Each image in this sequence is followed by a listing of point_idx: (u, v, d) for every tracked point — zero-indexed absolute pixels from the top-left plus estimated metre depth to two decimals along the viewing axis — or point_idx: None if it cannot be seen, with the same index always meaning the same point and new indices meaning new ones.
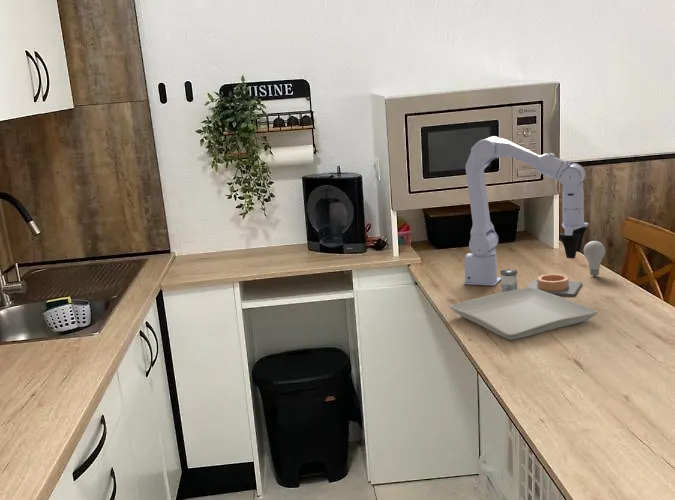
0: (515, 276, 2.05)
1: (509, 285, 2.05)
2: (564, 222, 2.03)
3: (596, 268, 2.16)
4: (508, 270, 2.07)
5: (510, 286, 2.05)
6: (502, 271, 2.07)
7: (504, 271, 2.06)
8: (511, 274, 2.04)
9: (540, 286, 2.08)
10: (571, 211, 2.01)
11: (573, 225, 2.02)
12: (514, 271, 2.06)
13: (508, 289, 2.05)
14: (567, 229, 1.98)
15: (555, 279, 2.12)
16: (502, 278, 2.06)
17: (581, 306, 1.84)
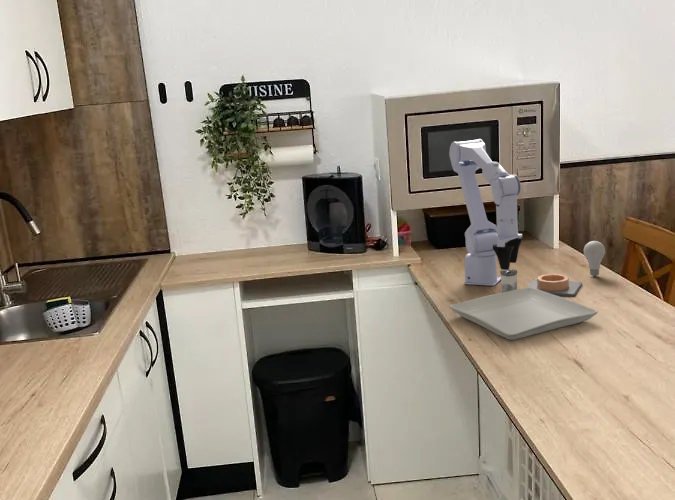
0: (515, 276, 2.05)
1: (509, 285, 2.05)
2: (498, 233, 2.03)
3: (596, 268, 2.16)
4: (508, 270, 2.07)
5: (510, 286, 2.05)
6: (502, 271, 2.07)
7: (504, 271, 2.06)
8: (511, 274, 2.04)
9: (540, 286, 2.08)
10: (504, 222, 2.00)
11: (506, 236, 2.01)
12: (514, 271, 2.06)
13: (508, 289, 2.05)
14: (499, 240, 1.98)
15: (555, 279, 2.12)
16: (502, 278, 2.06)
17: (581, 306, 1.84)
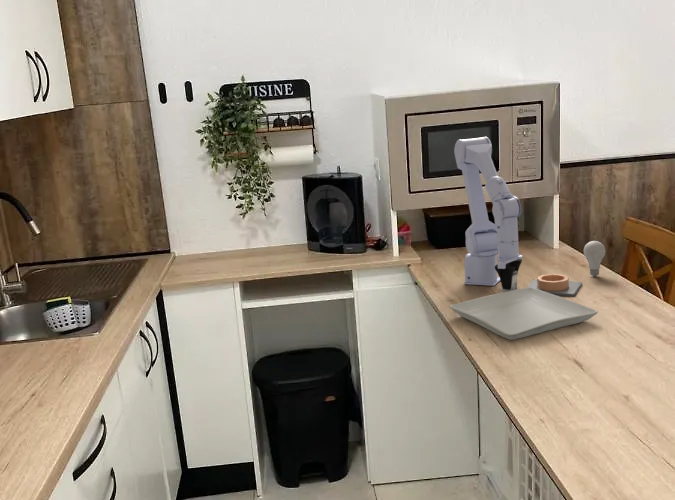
0: (515, 276, 2.05)
1: None
2: (499, 255, 2.04)
3: (596, 268, 2.16)
4: None
5: None
6: None
7: None
8: None
9: (540, 286, 2.08)
10: (505, 244, 2.02)
11: (507, 258, 2.02)
12: (514, 271, 2.06)
13: None
14: (500, 262, 1.99)
15: (555, 279, 2.12)
16: None
17: (581, 306, 1.84)
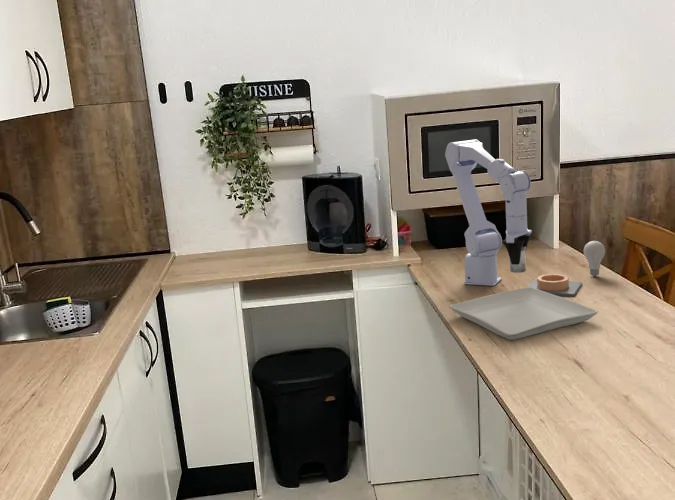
0: (524, 251, 2.04)
1: None
2: (507, 229, 2.03)
3: (596, 268, 2.16)
4: None
5: None
6: None
7: None
8: None
9: (540, 286, 2.08)
10: (513, 218, 2.01)
11: (516, 232, 2.01)
12: (523, 246, 2.04)
13: (517, 265, 2.04)
14: (508, 236, 1.98)
15: (555, 279, 2.12)
16: None
17: (581, 306, 1.84)
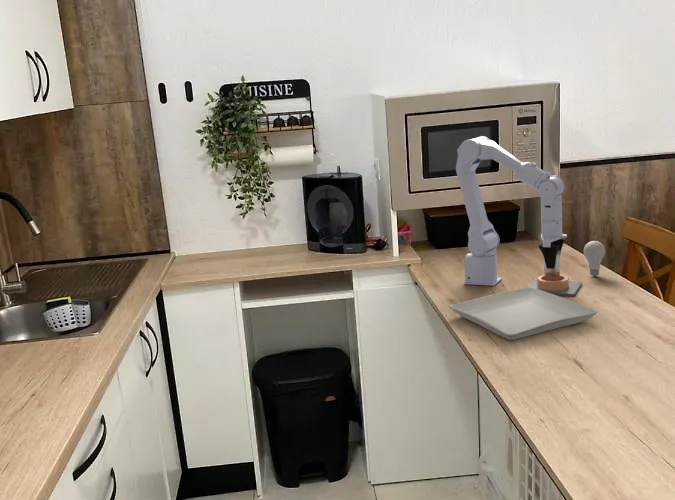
0: (558, 255, 2.06)
1: None
2: (543, 234, 2.05)
3: (596, 268, 2.16)
4: None
5: None
6: None
7: None
8: None
9: (540, 286, 2.08)
10: (549, 223, 2.02)
11: (551, 237, 2.03)
12: None
13: (552, 269, 2.06)
14: (545, 241, 2.00)
15: (555, 279, 2.12)
16: None
17: (581, 306, 1.84)
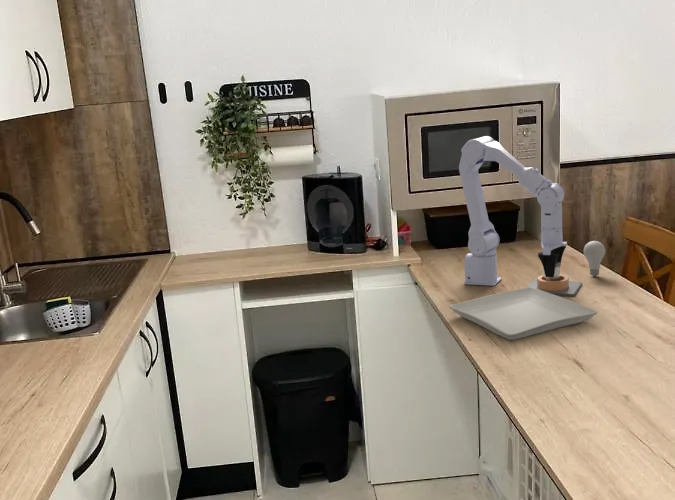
0: (559, 267, 2.07)
1: None
2: (543, 241, 2.06)
3: (596, 268, 2.16)
4: None
5: (554, 278, 2.06)
6: None
7: None
8: (555, 265, 2.06)
9: (540, 286, 2.08)
10: (549, 231, 2.03)
11: (552, 244, 2.04)
12: (557, 262, 2.07)
13: None
14: (545, 249, 2.00)
15: None
16: None
17: (581, 306, 1.84)
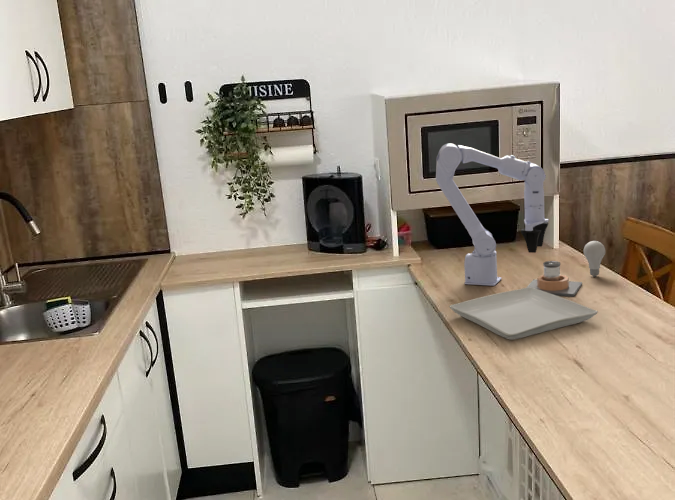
0: (559, 267, 2.07)
1: (553, 276, 2.06)
2: (526, 218, 2.15)
3: (596, 268, 2.16)
4: (550, 262, 2.09)
5: (554, 278, 2.06)
6: (545, 263, 2.08)
7: (547, 263, 2.08)
8: (555, 265, 2.06)
9: (540, 286, 2.08)
10: (532, 208, 2.13)
11: (534, 221, 2.13)
12: (557, 262, 2.07)
13: None
14: (528, 225, 2.10)
15: None
16: (546, 270, 2.07)
17: (581, 306, 1.84)
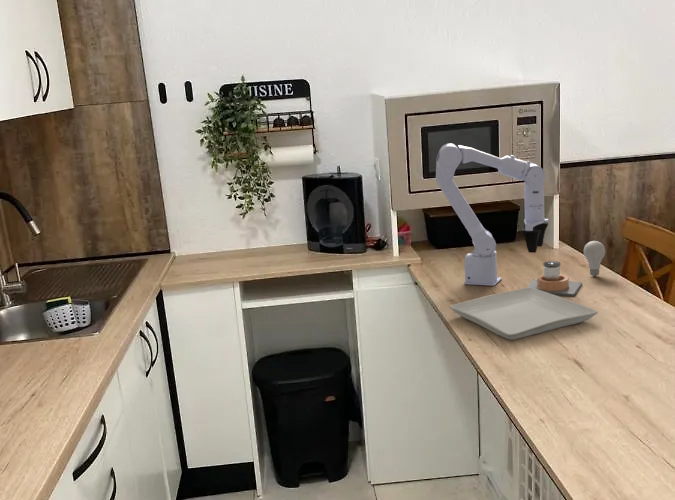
0: (559, 267, 2.07)
1: (553, 276, 2.06)
2: (526, 218, 2.15)
3: (596, 268, 2.16)
4: (550, 262, 2.09)
5: (554, 278, 2.06)
6: (545, 263, 2.08)
7: (547, 263, 2.08)
8: (555, 265, 2.06)
9: (540, 286, 2.08)
10: (532, 208, 2.13)
11: (534, 221, 2.14)
12: (557, 262, 2.07)
13: None
14: (528, 225, 2.10)
15: None
16: (546, 270, 2.07)
17: (581, 306, 1.84)
